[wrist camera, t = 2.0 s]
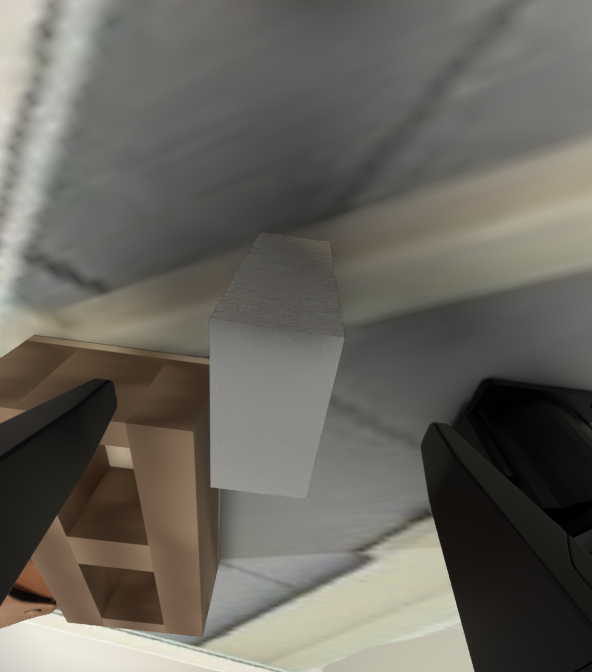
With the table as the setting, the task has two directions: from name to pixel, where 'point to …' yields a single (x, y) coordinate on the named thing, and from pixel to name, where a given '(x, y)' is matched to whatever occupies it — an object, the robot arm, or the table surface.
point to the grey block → (273, 366)
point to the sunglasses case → (27, 598)
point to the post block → (129, 487)
